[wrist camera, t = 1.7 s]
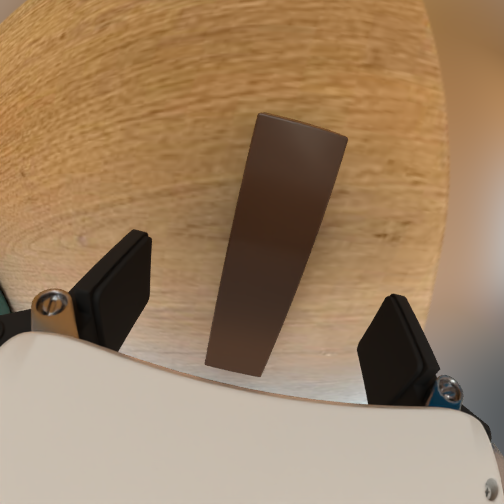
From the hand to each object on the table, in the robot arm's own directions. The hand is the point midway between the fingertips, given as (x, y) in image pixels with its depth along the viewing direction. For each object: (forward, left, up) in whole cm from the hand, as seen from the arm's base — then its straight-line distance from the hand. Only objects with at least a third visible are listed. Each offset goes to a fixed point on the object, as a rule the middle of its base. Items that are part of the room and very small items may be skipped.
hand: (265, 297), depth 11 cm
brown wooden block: (0, 0, -4) cm, 4 cm away
